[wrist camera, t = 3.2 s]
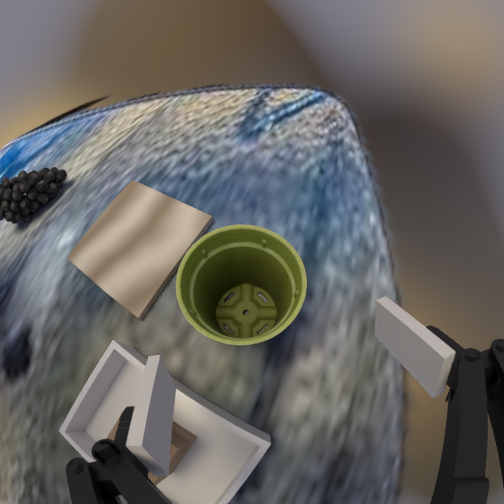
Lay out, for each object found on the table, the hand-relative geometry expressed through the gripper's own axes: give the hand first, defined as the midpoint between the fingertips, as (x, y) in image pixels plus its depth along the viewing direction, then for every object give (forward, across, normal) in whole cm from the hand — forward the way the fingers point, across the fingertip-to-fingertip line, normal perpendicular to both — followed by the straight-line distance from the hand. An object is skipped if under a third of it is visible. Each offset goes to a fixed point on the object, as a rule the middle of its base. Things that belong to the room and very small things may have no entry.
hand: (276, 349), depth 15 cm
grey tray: (+4, -12, -12) cm, 17 cm away
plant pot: (+12, -1, -4) cm, 12 cm away
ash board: (+20, -12, +5) cm, 24 cm away
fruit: (+29, -32, +14) cm, 45 cm away
